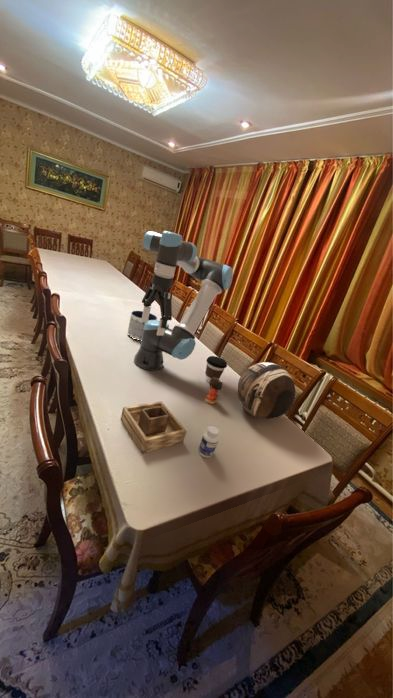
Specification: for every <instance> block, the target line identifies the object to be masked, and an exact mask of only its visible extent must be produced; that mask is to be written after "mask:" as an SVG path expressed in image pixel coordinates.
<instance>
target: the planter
mask: <svg viewBox="0 0 393 698" xmlns="http://www.w3.org/2000/svg"><path fill="white" fill-rule="evenodd" d="M142 314H143V310H132V311H131V313H130V316H129V317H130V318H129V322H128V328H127V329H128V330H127V335H128V334H129V335H130V336H131V337H133V338H136V339H139V340H142V336H143V331H144V327H145V323H146V322H141V319H142ZM150 320H158V317H157V316H156V315H155V314H153V313H151V312H150V314H149V318H148V321H150Z"/></svg>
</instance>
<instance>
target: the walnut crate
mask: <svg viewBox="0 0 393 698" xmlns="http://www.w3.org/2000/svg"><path fill="white" fill-rule="evenodd" d="M168 420H169V414H168V413H167V412H166V411H165V410H164V408H163V407H162V406H157V407H151V408H145V409H141V413H140V418H139V422H138V426H139V427H140V429H141V430H142V432H143V433H144V435H145V436H149V435H153V434H157V433H162V432H165V431H166V427H167V423H168Z"/></svg>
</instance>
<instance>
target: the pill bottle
mask: <svg viewBox="0 0 393 698" xmlns="http://www.w3.org/2000/svg"><path fill="white" fill-rule="evenodd" d="M219 433H220V430H219V428H217V427H215V426H213V425H212V426H211V425H210V426H207V430H206V431H204V433H203V436H202V437H201V440H200V444H199V447H198V453H199V455H201V456H202V457H204V458H212V457H213V456H214V453H215V451H216V448H217V445H218V442H219V440H220V438H219Z"/></svg>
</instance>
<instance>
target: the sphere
mask: <svg viewBox="0 0 393 698" xmlns="http://www.w3.org/2000/svg"><path fill="white" fill-rule="evenodd" d="M237 395H238V396H237V397H238V399H239V403H240V404H241V406H242V408H243V409H244V410H245V411H246V412H248V414H250V415H251V416H253V417H255V418H257V419H262V420H273V419H277V418H280V417H282V416H283V415H285V414H286V413H288V411H289V410H290V409H291V407H292V406H293V404H294V402H295V398H296V386H295V382H294V379H293V377H292V376H291V374H290V373H289V372H288V371H287V370H286V369H285V368H283V367H282V366H281V365H279V364H276V363H274V362H267V361H266V362H257V363H254V364H252V365H251V366H249V367H248V368H246V370H245V371H244V372H243V373H242V374H241V376H240V378H239V380H238V384H237Z"/></svg>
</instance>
